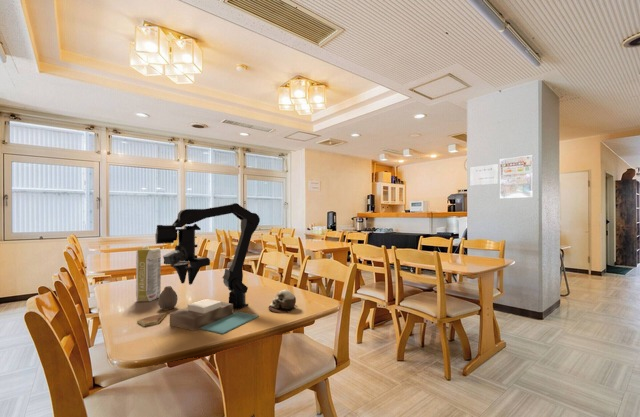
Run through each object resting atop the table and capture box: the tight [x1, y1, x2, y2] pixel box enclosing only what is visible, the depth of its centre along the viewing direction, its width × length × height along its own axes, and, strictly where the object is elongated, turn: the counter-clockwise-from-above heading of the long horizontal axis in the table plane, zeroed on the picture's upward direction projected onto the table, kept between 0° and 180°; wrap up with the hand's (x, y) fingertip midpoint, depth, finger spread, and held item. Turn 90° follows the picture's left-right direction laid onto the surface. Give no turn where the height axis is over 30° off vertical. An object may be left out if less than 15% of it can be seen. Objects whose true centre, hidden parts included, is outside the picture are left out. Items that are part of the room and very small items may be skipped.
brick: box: [169, 301, 234, 332], centre depth 109 cm, size 18×12×4 cm, turn 153°
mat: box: [199, 311, 259, 335], centre depth 105 cm, size 18×10×1 cm, turn 153°
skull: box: [268, 289, 299, 314], centre depth 121 cm, size 12×10×10 cm
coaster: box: [187, 298, 222, 313], centre depth 108 cm, size 8×8×2 cm
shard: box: [136, 311, 168, 327], centre depth 108 cm, size 11×8×2 cm
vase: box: [158, 285, 178, 311], centre depth 122 cm, size 7×7×9 cm
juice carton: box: [135, 245, 162, 302], centre depth 135 cm, size 9×8×24 cm
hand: (186, 283), depth 113 cm, fingers open, 4 cm apart
